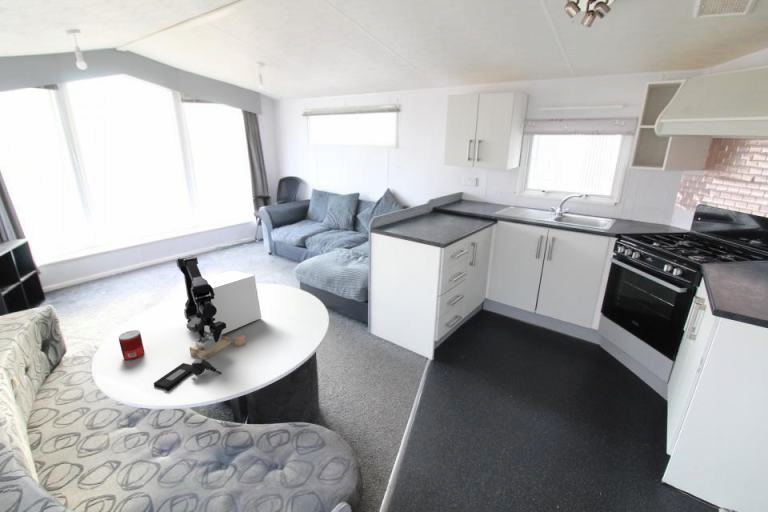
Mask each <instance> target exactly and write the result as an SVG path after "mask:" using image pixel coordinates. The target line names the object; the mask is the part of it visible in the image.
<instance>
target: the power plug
mask: <svg viewBox="0 0 768 512" xmlns="http://www.w3.org/2000/svg"><path fill="white" fill-rule="evenodd" d="M190 365H191V366H190V368H189V369H190V371H191V372H192V373H191V374H190V376H191V377H193V376H194V375H197V376H200V375H202V374H203V373H204V371H208V372H209V371H210V372H212V373H218V375H222V372H221V371H219V370H218V369H217V367H215V366H213V364H212V363H210V362H208V361H207V360H205V359H202V358H200V359H195V360H194V361H193V362H192V363H191V364H190Z"/></svg>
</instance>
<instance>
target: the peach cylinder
mask: <svg viewBox="0 0 768 512" xmlns="http://www.w3.org/2000/svg"><path fill="white" fill-rule="evenodd" d="M233 342H234V343H233V344H234V346H235V347H241V346H243V345H245V344H246V342H247V341H246V336H245V335H243V334H241V335H240V334H239V335H237V336H235V337H233Z"/></svg>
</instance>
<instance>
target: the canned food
mask: <svg viewBox="0 0 768 512" xmlns="http://www.w3.org/2000/svg"><path fill="white" fill-rule="evenodd" d="M142 339H143V338H142V334H141V332H140V330H137V329H135V330H134V329H133V330H129V331H125V332H123V333H121V334H120V335H119V336H118V342H119V347H120V350H121V353H122V357H123V359H124V360H126V361H133V360H136V359H139V358H141V357H142V356H143V355H144V354H145V348H144V343H143V340H142Z"/></svg>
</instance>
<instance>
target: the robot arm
mask: <svg viewBox="0 0 768 512" xmlns="http://www.w3.org/2000/svg"><path fill="white" fill-rule="evenodd" d="M198 264H199V261H198V257H197V256H194V255H188V256H182V257H181V256H180V257H178V258H177V260H176V266H177V268H178V269H179V270H180V272H182V274H183V279H184V284H185V292H186V297H187V300H186V302H185V303H184V304H185V305H184V306H185V307H184V309H183V310H184V311H183V315H184V318H185V319H186V320H187V323H186V326H185V327H186V328H187V329H188V331H191V332H193V333H198V335H199V337H200V338H202V337H203V336H205V331H204V329H205V326H210V327H209V330H210V331H211V332H210V333H212V334H213V337H214V341H215V343H216V342H218V339H219V337H220V334H221V332H222V330H223V329H225V328H226V323H224V322H221V321H218V322H216V323H214V322H213V321H215V318H213V316H214V315H215V314H216V312H217V309H216V307H215V306H214V305H213V304H212V302H211V299H214V295H215V294H214V291H213V288H212V286H211V285H210V284H208V282H207V280H206V279H205V278H203V276H202V274H201V271H200V269H199V267H198ZM209 294H211V295H210V296H206V295H209ZM196 298H197V299H196ZM195 303H196V304H195ZM194 315H195V316H194Z"/></svg>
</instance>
